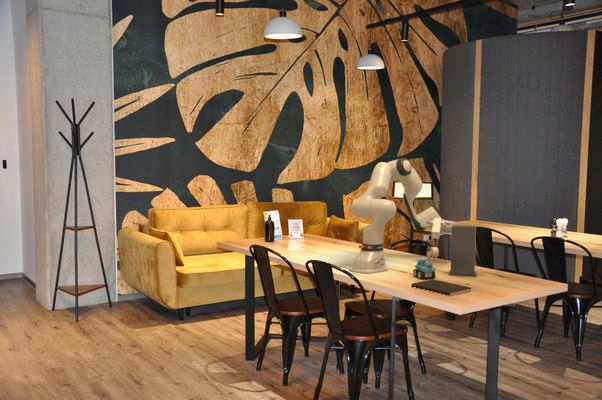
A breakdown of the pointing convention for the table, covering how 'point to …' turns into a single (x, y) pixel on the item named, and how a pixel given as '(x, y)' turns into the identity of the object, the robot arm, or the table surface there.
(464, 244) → the stand
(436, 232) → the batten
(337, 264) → the table surface
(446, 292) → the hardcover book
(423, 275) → the toy excavator
